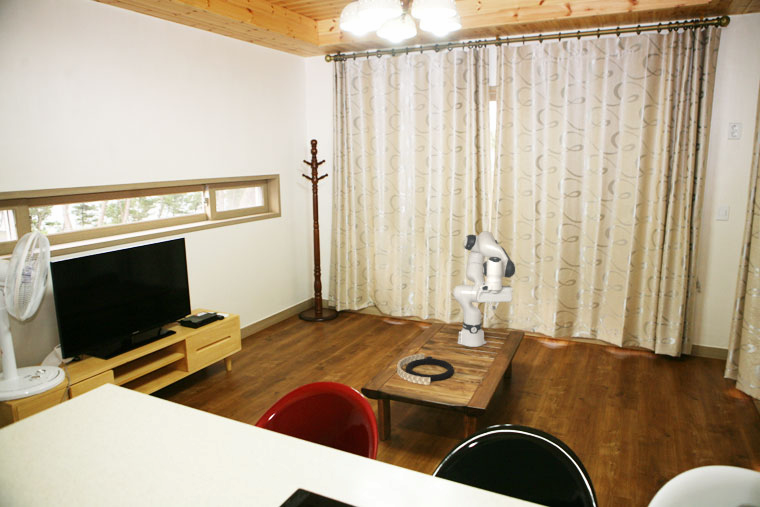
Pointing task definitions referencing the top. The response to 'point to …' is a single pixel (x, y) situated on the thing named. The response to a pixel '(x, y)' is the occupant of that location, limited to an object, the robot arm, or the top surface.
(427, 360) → the cable lock
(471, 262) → the robot arm
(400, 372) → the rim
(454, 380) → the top surface
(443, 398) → the top surface
